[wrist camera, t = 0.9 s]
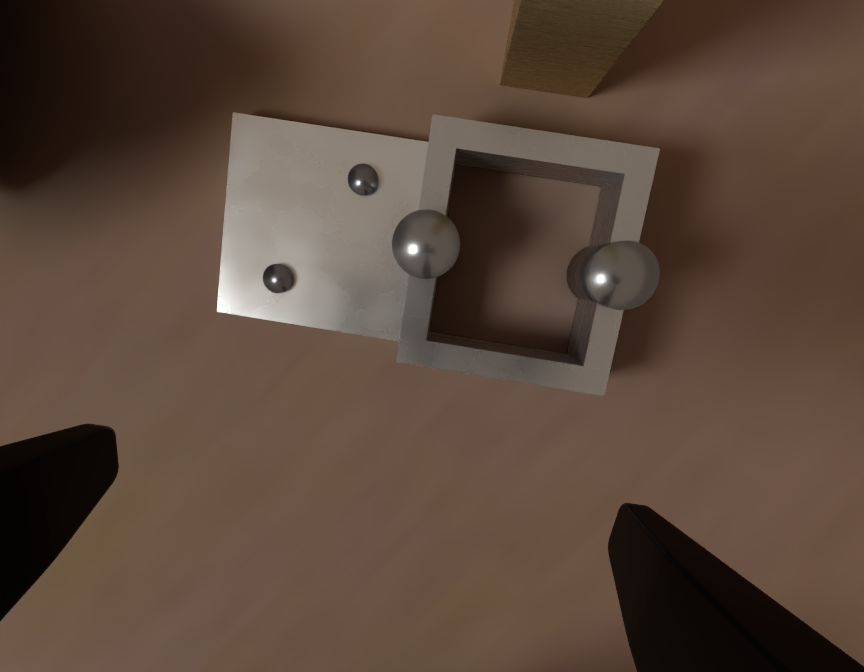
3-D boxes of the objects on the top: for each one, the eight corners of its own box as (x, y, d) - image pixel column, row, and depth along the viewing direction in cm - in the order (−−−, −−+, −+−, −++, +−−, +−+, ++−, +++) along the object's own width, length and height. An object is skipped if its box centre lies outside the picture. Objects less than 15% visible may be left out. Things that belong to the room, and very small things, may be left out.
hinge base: (649, 167, 18) (690, 146, 15) (601, 382, 19) (630, 404, 16) (243, 106, 18) (199, 72, 15) (225, 320, 20) (181, 331, 17)
